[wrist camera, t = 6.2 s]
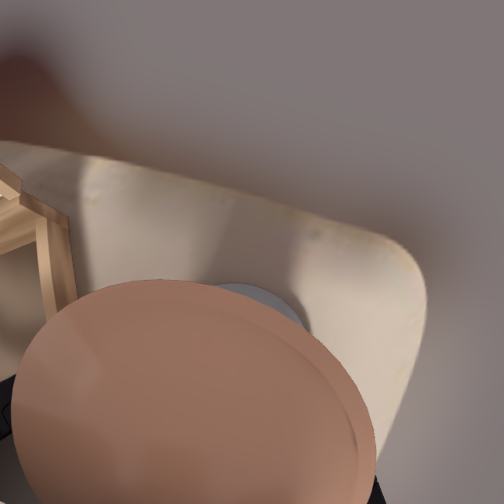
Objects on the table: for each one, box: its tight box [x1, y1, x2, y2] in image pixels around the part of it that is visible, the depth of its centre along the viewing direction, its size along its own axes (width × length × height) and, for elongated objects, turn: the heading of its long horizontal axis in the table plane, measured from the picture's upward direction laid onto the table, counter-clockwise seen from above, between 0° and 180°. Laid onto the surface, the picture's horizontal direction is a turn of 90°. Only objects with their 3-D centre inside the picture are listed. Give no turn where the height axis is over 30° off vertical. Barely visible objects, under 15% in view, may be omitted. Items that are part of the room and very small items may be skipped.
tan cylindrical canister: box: [11, 279, 376, 504], centre depth 11 cm, size 7×7×14 cm
